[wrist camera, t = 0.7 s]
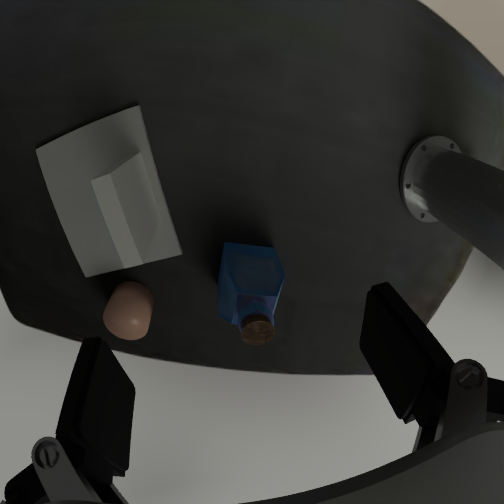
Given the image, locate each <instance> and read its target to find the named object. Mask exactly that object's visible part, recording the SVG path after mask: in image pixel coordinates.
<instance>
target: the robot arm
mask: <svg viewBox="0 0 504 504" xmlns="http://www.w3.org/2000/svg"><path fill="white" fill-rule="evenodd" d="M400 192H401V197H402V201H403V203H404V205H405V207H406V209H407V210H408V211H409V213H410V214H411V215H413V216H414V217H415V218H417V219H418V220H420V221H423V222H436V221H440V222H442V223H443V224H445V225H446V226H448V227H449V228H450V229H452V230H453V231H454V232H456V233H457V234H459V235H460V236H461V237H463V238H464V239H465V240H467V241H468V242H469V243H471V244H472V245H473V246H475V247H476V248H477V249H478V250H480V251H481V252H482V253H483V254H485V255H486V256H487V257H488V258H490V259H491V260H492V261H494V262H495V263H496V264H497V265H498V266H500V267H501V268H502V269H503V270H504V171H503V170H501V169H498V168H496V167H494V166H491V165H489V164H486V163H484V162H482V161H479V160H477V159H474V158H471V157H469V156H466V155H463V154H462V152H461V150H460V148H459V147H458V146H457V144H456V143H455V142H454V141H452V140H451V139H449V138H447V137H444V136H440V135H430V136H426V137H424V138H422V139H421V140H419V141H418V142H417V143H416V144H415V145H414V146H413V147H412V148H411V150H410V151H409V152H408V154H407V156H406V158H405V160H404V163H403V166H402V170H401V175H400ZM359 344H360V349H361V351H362V353H363V355H364V357H365V358H366V360H367V362H368V364H369V366H370V367H371V369H372V371H373V373H374V375H375V376H376V378H377V380H378V382H379V383H380V386H381V387H382V389H383V391H384V393H385V395H386V397H387V399H388V400H389V403H390V404H391V406H392V408H393V410H394V412H395V414H396V416H397V417H398V418H399V419H403V421H404V423H405V424H407V423H409V422H411V421H413V420H415V419H416V421H417V422H418V424H419V430H418V433H417V437H416V441H415V444H414V447H413V451H412V453H411V454H409V455H406V456H404V457H402V458H400V459H398V460H395V461H393V462H390V463H388V464H386V465H383V466H381V467H379V468H376V469H374V470H371V471H369V472H366V473H363V474H360V475H358V476H355V477H352V478H349V479H346V480H343V481H340V482H337V483H334V484H330V485H327V486H324V487H320V488H316V489H313V490H309V491H305V492H301V493H297V494H292V495H288V496H283V497H278V498H273V499H268V500H261V501H255V502H248V503H241V504H504V381H502V380H498V379H494V378H489V377H487V373H486V370H485V368H484V367H483V366H482V365H481V364H480V363H478V362H477V361H475V360H472V359H463V360H460V361H458V362H457V363H454V362H453V360H452V359H451V357H450V356H449V355H448V353H447V352H446V351H445V350H444V348H443V347H442V346H441V344H440V343H439V342H438V340H437V339H436V338H435V337H434V336H433V334H432V333H431V332H430V331H429V329H428V328H427V327H426V325H425V324H424V323H423V322H422V320H421V319H420V318H419V317H418V316H417V315H416V314H415V313H414V312H413V311H412V309H411V308H410V307H409V306H408V305H407V303H406V302H405V301H404V300H403V299H402V297H401V296H400V295H399V294H398V293H397V292H396V291H395V289H394V288H393V287H392V286H391V285H390V284H389V283H388V282H384V283H381V284H377V285H373V286H372V287H371V290H370V291H368V292H367V298H366V305H365V312H364V319H363V325H362V331H361V336H360V343H359ZM134 400H135V387H134V385H133V383H132V381H131V380H130V379H129V377H128V376H127V374H126V373H125V371H124V370H123V368H122V366H121V365H120V363H119V362H118V360H117V359H116V357H115V356H114V354H113V352H112V350H111V349H110V347H109V346H108V344H107V342H106V341H105V340H102V339H101V338H100V337H90V338H85V339H84V340H83V342H82V345H81V347H80V350H79V353H78V356H77V359H76V362H75V365H74V368H73V371H72V374H71V378H70V381H69V384H68V388H67V391H66V395H65V398H64V402H63V405H62V409H61V413H60V417H59V421H58V425H57V429H56V433H55V434H56V438H53V437H43V438H41V439H40V440H38V441H37V442H36V443H35V445H34V447H33V449H32V456H31V458H32V462H33V463H32V464H30V465H29V466H28V467H27V468H25V469H24V470H22V471H21V472H20V473H19V474H17V475H16V476H15V477H13V478H12V479H11V480H10V481H9V482H8V483H7V484H6V487H5V492H4V494H5V499H6V501H4V500H2V502H1V503H0V504H128V502H127V501H126V500H125V498H124V497H123V496H122V495H121V493H120V492H119V491H118V489H117V488H116V487H115V486H114V484H113V483H112V480H113V476H120V477H125V471H126V470H128V468H129V456H130V440H131V429H132V419H133V410H134Z"/></svg>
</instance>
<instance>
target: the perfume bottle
mask: <svg viewBox="0 0 504 504" xmlns="http://www.w3.org/2000/svg"><path fill="white" fill-rule="evenodd" d="M284 277H285V273H284V271H283V268H282V266H281V263H280V261H279V258H278V256H277V253H276V251H275V248H271V247H263V246H254V245H246V244H238V243H229V242H224V247H223V254H222V260H221V266H220V272H219V278H218V307H219V316H220V317H222V318H223V319H225V320H226V321H228V322H229V323H231V324H238V325H239V329H240V331H241V332H242V338H243V340H244V341H245V342H247V343H249V344H253V345H260V344H264V343H266V342H268V341H270V340H271V339H272V338H273V336H274V334H275V328H274V319H273V314H274V311H275V308H276V304H277V301H278V298H279V294H280V291H281V288H282V284H283V281H284Z"/></svg>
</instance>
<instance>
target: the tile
mask: <svg viewBox="0 0 504 504" xmlns="http://www.w3.org/2000/svg"><path fill="white" fill-rule="evenodd" d="M91 186H92V189H93V192H94V195H95V197H96V200H97V203H98V206H99V208H100V211H101V214H102V216H103V219H104V222H105V224H106V227H107V229H108V232H109V234H110V237H111V239H112V242H113V244H114V247H115V249H116V251H117V254H118V256H119V258H120V261H121V263H122V264H123V266H124V268H129V267H133V266H137V265H141V264H143V263H144V260H145V258H146V255H147V252H148V250H149V247H150V245H151V242H152V240H153V237H154V235H155V232H156V230H157V228H158V225H159V223H160V220H161V217H160V214H159V211H158V208H157V204H156V201H155V198H154V195H153V192H152V188H151V185H150V182H149V179H148V175H147V172H146V168H145V165H144V162H143V158H142V154H141V152H138V153H135V154H132V155H129V156H126V157H124V158H123V159H121V160H120V161H118V162H117V163H115V164H114V165H112V166H111V167H109V168H108V169H106V170H105V171H103V172H102V173H100V174H99V175H98V176H96V177H95V178H93V179H92V180H91Z"/></svg>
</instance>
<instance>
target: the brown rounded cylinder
mask: <svg viewBox="0 0 504 504" xmlns="http://www.w3.org/2000/svg"><path fill="white" fill-rule="evenodd" d="M153 305H154V298H153V295H152V293H151V292H150V290H149V289H148V288H147V287H145V286H144V285H142V284H141V283H138V282H135V281H124V282H121V283H119V284H118V285H117V286H116V287H115V288H114V290H113V292H112V295H111V297H110V299H109V302H108V304H107V306H106V309H105V311H104V314H103V321H104V324H105V326H106V327H107V329H108V330H109V331H110V332H111V333H113V334H114V335H116V336H117V337H120V338H122V339H126V340H136V339H140V338H142V337H143V336H144V335H145V334H146V333H147V331H148V327H149V323H150V318H151V314H152V310H153Z"/></svg>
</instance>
